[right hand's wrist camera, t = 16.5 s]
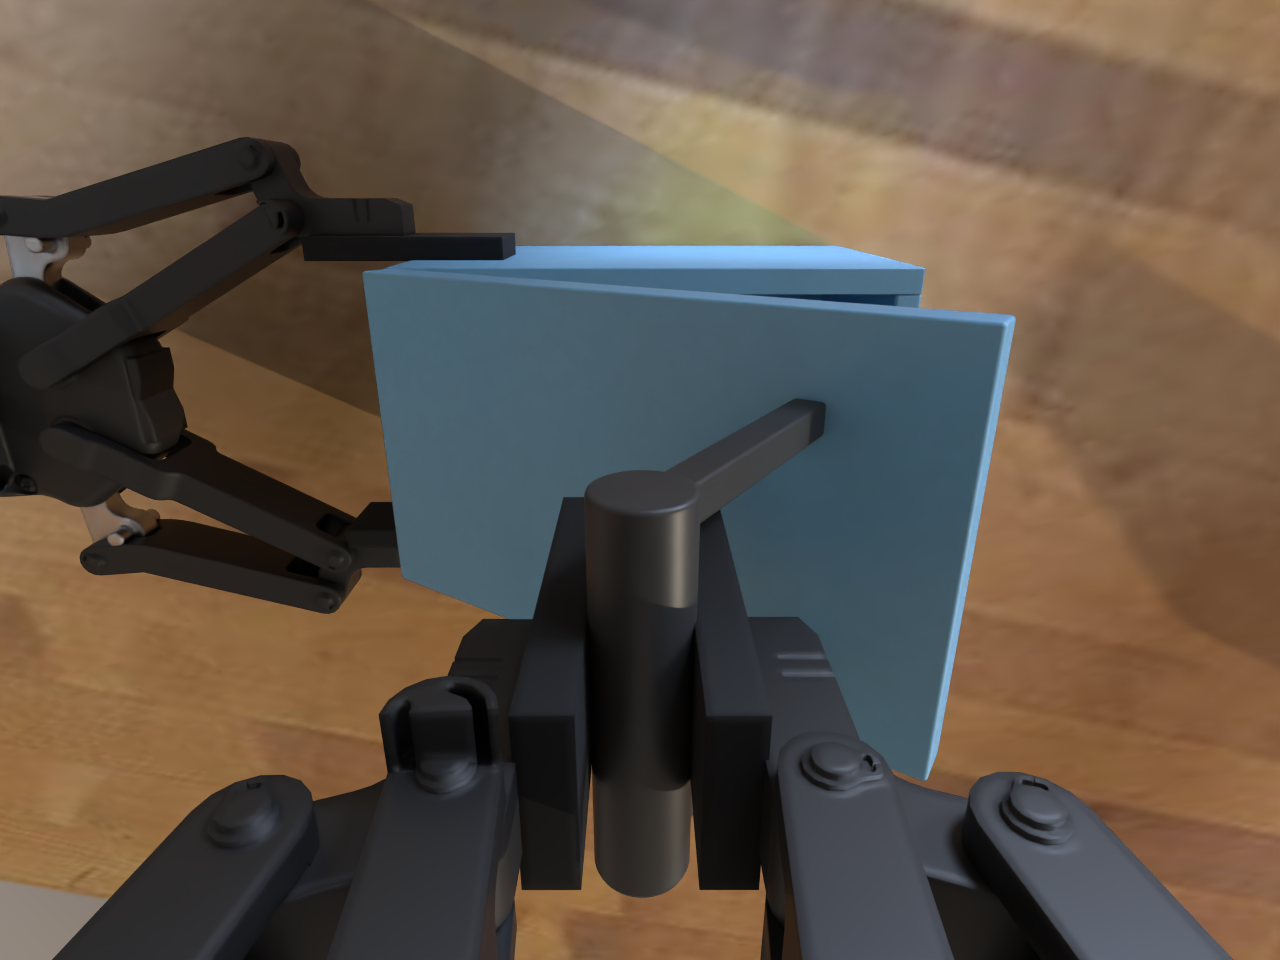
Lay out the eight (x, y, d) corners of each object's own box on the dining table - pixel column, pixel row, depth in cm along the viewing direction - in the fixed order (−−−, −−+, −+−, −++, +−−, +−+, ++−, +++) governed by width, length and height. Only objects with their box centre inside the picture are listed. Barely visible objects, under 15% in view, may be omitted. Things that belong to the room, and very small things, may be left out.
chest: (838, 245, 31) (925, 267, 22) (818, 462, 35) (886, 563, 25) (462, 245, 31) (383, 267, 22) (480, 462, 35) (419, 563, 25)
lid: (1017, 314, 13) (892, 422, 7) (937, 753, 17) (807, 1089, 10) (392, 268, 22) (82, 297, 15) (426, 565, 25) (185, 687, 19)
